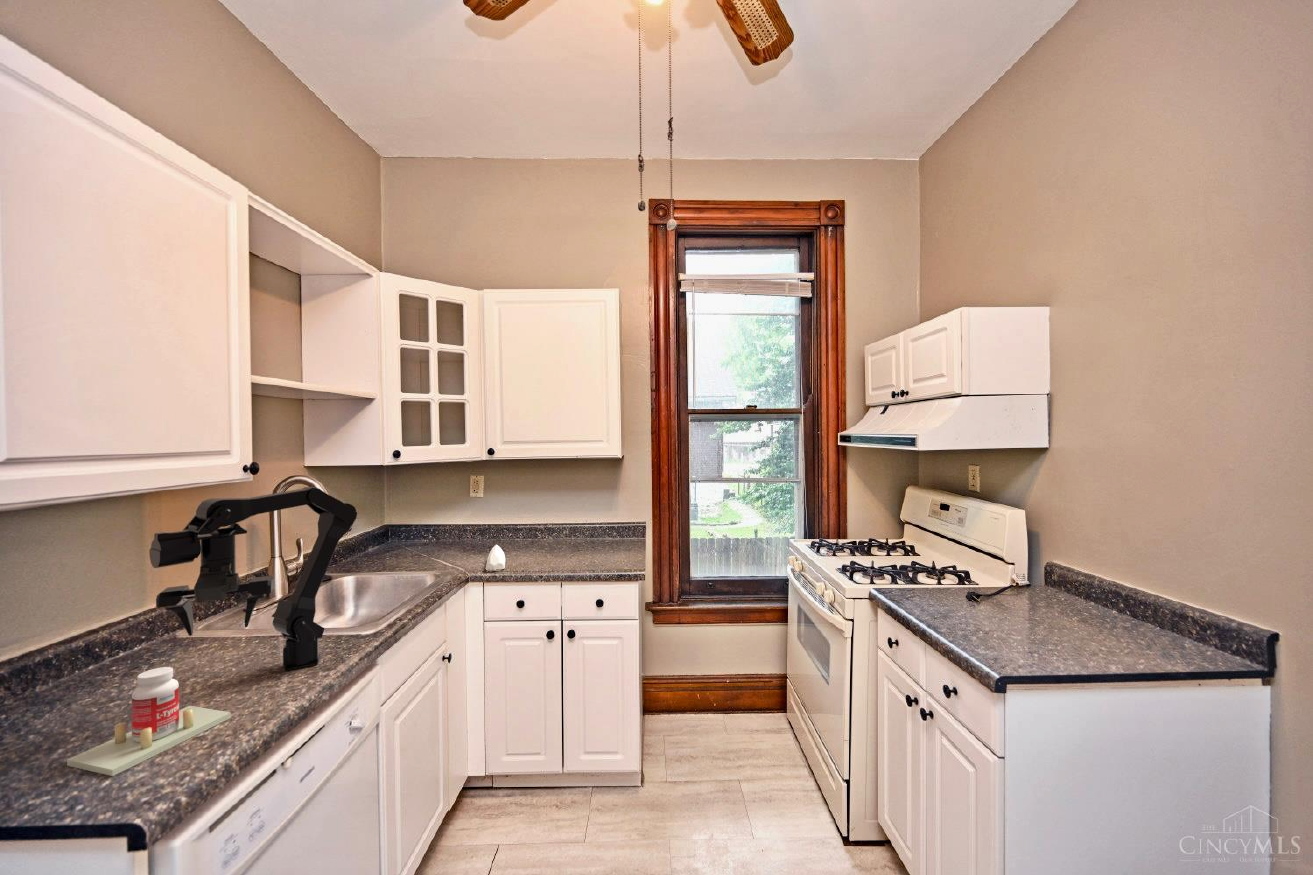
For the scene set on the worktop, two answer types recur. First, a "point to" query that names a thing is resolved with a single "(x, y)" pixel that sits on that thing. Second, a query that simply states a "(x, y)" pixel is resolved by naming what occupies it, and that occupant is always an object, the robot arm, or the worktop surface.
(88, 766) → the standoff plate
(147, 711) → the pill bottle
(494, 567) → the white rounded log
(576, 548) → the worktop surface
